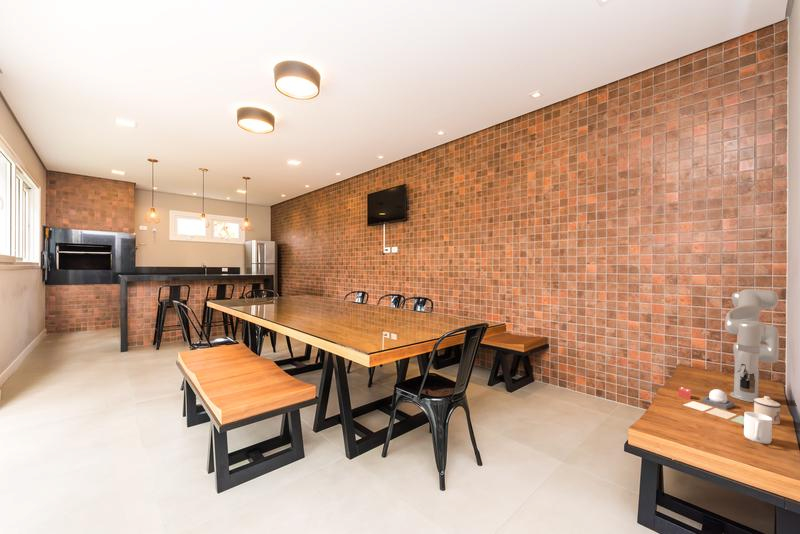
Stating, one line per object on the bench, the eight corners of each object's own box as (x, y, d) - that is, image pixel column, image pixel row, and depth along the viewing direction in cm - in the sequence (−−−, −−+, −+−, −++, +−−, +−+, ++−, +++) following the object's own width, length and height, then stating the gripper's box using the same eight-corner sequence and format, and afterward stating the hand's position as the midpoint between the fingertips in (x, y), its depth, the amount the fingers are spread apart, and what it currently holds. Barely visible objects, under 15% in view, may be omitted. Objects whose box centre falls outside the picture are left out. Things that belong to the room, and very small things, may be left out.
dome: (712, 399, 187) (713, 386, 186) (729, 404, 180) (729, 390, 180) (706, 401, 183) (706, 388, 183) (723, 406, 177) (723, 393, 177)
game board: (691, 401, 187) (691, 399, 187) (768, 425, 160) (769, 423, 160) (678, 406, 181) (678, 404, 181) (757, 431, 154) (757, 429, 154)
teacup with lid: (780, 427, 159) (781, 402, 159) (752, 419, 166) (753, 396, 166) (781, 419, 167) (781, 395, 167) (754, 413, 174) (755, 390, 174)
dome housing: (710, 400, 189) (710, 395, 189) (734, 407, 180) (734, 402, 180) (701, 404, 184) (701, 398, 184) (725, 411, 175) (726, 405, 175)
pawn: (742, 388, 166) (743, 370, 165) (756, 391, 161) (757, 373, 161) (737, 389, 163) (738, 372, 163) (752, 393, 159) (752, 375, 159)
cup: (771, 439, 148) (772, 416, 148) (771, 449, 140) (772, 425, 140) (744, 432, 154) (745, 409, 154) (742, 441, 146) (743, 417, 146)
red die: (679, 395, 195) (679, 386, 195) (690, 398, 192) (691, 388, 192) (678, 398, 192) (678, 388, 191) (690, 401, 188) (690, 390, 188)
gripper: (745, 345, 169) (744, 382, 169) (730, 349, 161) (728, 387, 162) (767, 348, 162) (765, 387, 163) (751, 352, 155) (750, 393, 155)
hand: (747, 386), depth 162 cm, fingers closed on pawn, 4 cm apart
